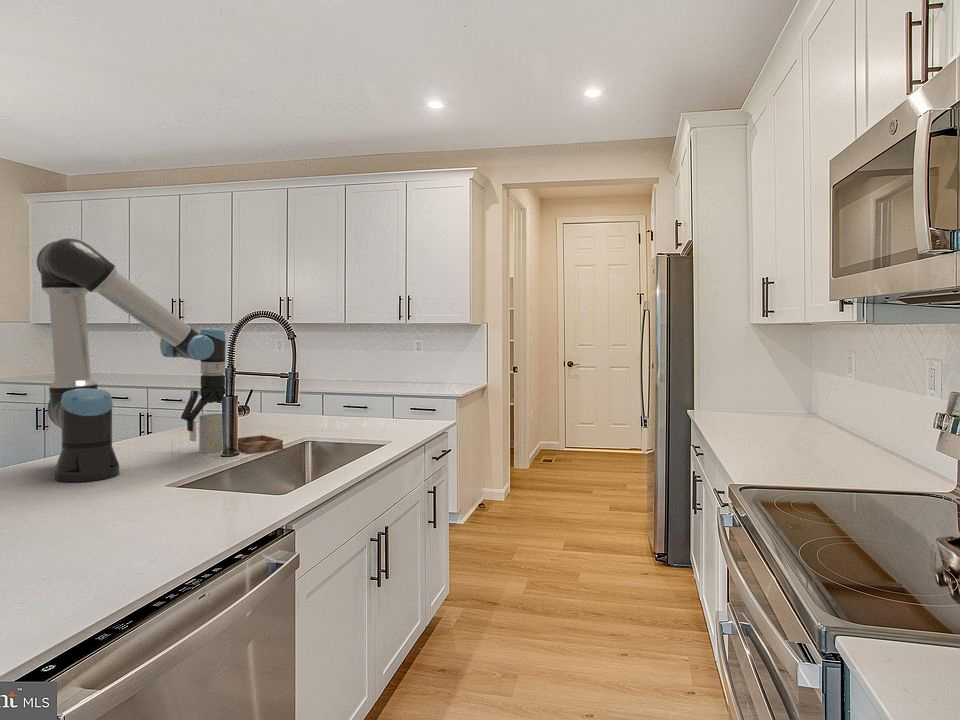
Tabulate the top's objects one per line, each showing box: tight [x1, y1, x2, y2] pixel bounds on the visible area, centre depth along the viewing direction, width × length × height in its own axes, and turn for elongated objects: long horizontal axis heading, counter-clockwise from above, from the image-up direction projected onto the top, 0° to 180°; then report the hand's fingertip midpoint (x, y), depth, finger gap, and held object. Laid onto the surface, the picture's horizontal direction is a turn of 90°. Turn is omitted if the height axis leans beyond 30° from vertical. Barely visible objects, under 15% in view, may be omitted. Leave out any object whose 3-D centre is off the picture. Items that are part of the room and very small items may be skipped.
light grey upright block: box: [198, 412, 223, 454], centre depth 207 cm, size 8×8×12 cm
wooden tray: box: [237, 434, 284, 455], centre depth 212 cm, size 13×13×3 cm
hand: (212, 438), depth 207 cm, fingers open, 12 cm apart
